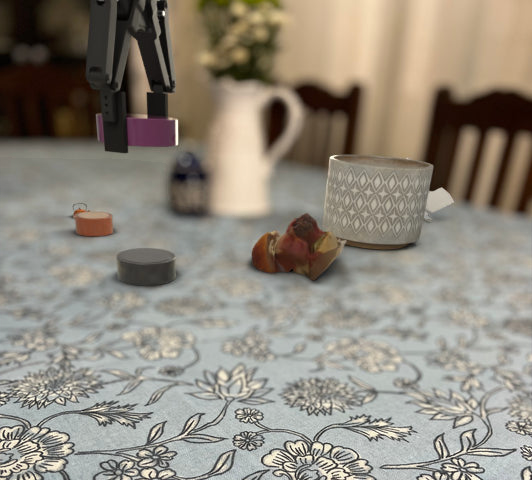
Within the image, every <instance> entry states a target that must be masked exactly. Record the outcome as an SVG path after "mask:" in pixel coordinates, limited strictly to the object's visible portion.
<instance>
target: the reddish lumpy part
mask: <svg viewBox="0 0 532 480" xmlns="http://www.w3.org/2000/svg"><path fill="white" fill-rule="evenodd" d="M345 243H346V240H344V241H340V239H339V240H337V238H336V236H335V235H334V234H333V233H332V232H330V231H326V232H325V231H324V230H323V229H321V228H320V227H319V225H318V222H317V220H316V219H315V218H314V217H313V216H311V215H310V214H309V213H307V212H305V213H304V214H301V215H300V216H299V217H296V218H294V219H293V220H292V221H291V222H290V223H289V224H288V225H287V228H286V230H285V233H282V234H281V235H280V233H279V231H277V230H273V231H271V232H270V231H267V232H265V233H264V234H263V235H262V236H260V237H259V239H257V241H256V242H255V244H254V245H253V247H252V250H251V259H252V266H253V267H254V268H255V269H257V270H259V271H262V272H264V273H268V274H274V273H289V272H290V271H292V273H295V274H298V275H304V276H305V277H307V278H309V280H310V281H316V279H317V278H319V276H321V274H322V273H323V272H325V271H326V270H327V269H328V268H329V267H330V265H331V264H332V263H333V262H334V261H335V259H336V258H337V257H339V255H341V253H342V251H343V249H344V247H345V245H346V244H345Z"/></svg>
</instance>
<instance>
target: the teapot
mask: <svg viewBox="0 0 532 480" xmlns="http://www.w3.org/2000/svg"><path fill="white" fill-rule="evenodd" d="M79 204H80V205H84V206H85V209H82V208H81V207H79V208H78V209H75V208H74V207H75V206H76V205H79ZM72 209H73V210H74V211H73V214H72V218H74V219H75V217H74V215H75V214H77V213H81V212H91V210H90V209H88V206H87V204H86V203H83V202H77V203H73V204H72Z"/></svg>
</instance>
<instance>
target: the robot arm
mask: <svg viewBox="0 0 532 480" xmlns="http://www.w3.org/2000/svg"><path fill="white" fill-rule="evenodd" d="M89 2H90V7H89V19H88V20H89V21H88V22H89V23H88V33H87V34H88V35H87V48H86V50H87V51H86V60H85V61H86V62H85V79H86V81H87V82H88V83H89V86H90V89H93V90H99V95H100V106H101V107H100V110H101V112H100V113H102V119H103V132H104V143H103V144H104V145H103V146H104V152H109V153H118V154H129V146H128V137H127V118H126V113H127V100H126V99H127V98H126V91H120V90H121V87H122V81H123V77H124V72H125V69H126V64H127V60H128V54H129V51H130V44H131V42H132V38H133V39H135V40H136V43H137V47H138V50H139V53H140V54H139V55H140V57H141V61H142V64H143V68H144V71H145V76H146V79H147V83H148V87H149V89H150V91H146V115H156V116H165V117H169V94H175V93H176V89H177V76H176V69H175V62H174V53H173V43H172V36H171V29H170V4H169V1H168V0H89ZM168 147H170V146H168ZM168 147H167V148H168Z"/></svg>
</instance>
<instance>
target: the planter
mask: <svg viewBox="0 0 532 480" xmlns="http://www.w3.org/2000/svg"><path fill="white" fill-rule="evenodd" d="M410 159H411V158H409V159H406V158H401V157H392V156H384V155H369V154H368V155H367V154H335V155H331V156H329V162H328V171H327V180H326V189H325V198H324V209H323V217H322V231H323V232H326V231H330V232H332V233H333V234H334V235H335V236H336V238H337V240H339V239H340V241H344V240H346V243H345V245H347V246H351V247H356V248H362V249H370V250H398V249H403V248H405V247H407V246H408V245H409V244H412V243H415V242H417V241H419V240H420V238H421V233H422V229H423V223H424V219H423V218H424V213H425V211H426V210H425V208H426V203H427V198H428V193H429V191H430V188H431V183H432V178H433V171H434V164H431V163H429V162H425V161H421V160H416V159H411V160H410Z"/></svg>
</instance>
